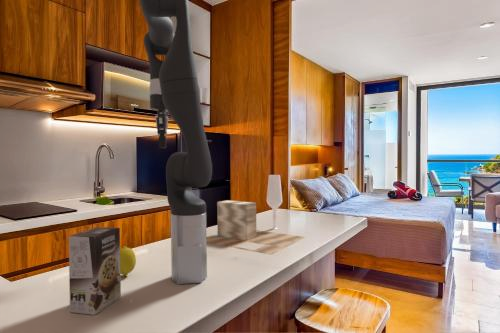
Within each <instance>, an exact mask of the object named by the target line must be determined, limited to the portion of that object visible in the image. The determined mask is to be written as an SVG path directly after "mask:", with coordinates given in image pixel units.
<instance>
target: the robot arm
mask: <svg viewBox="0 0 500 333" xmlns="http://www.w3.org/2000/svg"><path fill="white" fill-rule="evenodd" d="M139 5H140V8H141V11H142V14H143V17H144V19H145V21H146V23H147V28H148V29H147V30H148V31H147V32H146V33H145V35H144V36H143V45H144V49H145V52H146V55H147V59H148V63H149V79H150V80H149V109H151V110H153V111H157V114H154V115H155V116H154V117H155V118H154V120H155V121H156V122H155V123H156V124H155V125H156V130H157V131H156V133H157V136H158V148H159V149H166V148H167V134H168V132H167V131H168V129H169V127H168V126H169V124H168V123H169V115H170V117H171V118H172V120H173V121H174V122H175V123H176V125H177V126H178V128H179V129H180V132H181V134H182V136H183V140H184V144H185V149H186V151H177V152H173V153H171V155H170V156H169V158H168V160H167V162H166V166H165V181H166V193H167V194H166V196H167V203H168V205H169V208H170V247H171V249H170V256H171V257H170V258H171V259H170V260H171V262H170V263H171V264H170V265H171V280H172V282H175V283H176V285H185V284H196V283H203V281H204V280H205V279H206V278H207V277H208V261H207V260H208V258H207V256H208V254H207V246H208V245H207V244H208V243H207V241H206V237H207V203H206V202H205V200H203V199H202V198H200V197H198V196H197V195H196V194H195V193H194V191H193V188H204V187H207V186H208V185H209V184H210V182H211V180H212V176H213V163H212V162H213V161H212V158H211V157H212V156H211V152H210V149H209V145H208V144H209V143H208V139H207V135H206V132H205V127H204V126H205V125H204V118H203V113H202V107H201V105H202V104H201V99H200V98H201V97H200V89H199V88H200V87H199V81H198V79H199V78H198V73H197V69H196V68H197V67H196V63H195V56H194V55H195V54H194V49H193V42H192V32H191V19H190V18H191V16H190V6H189V0H139ZM172 17H173V18H174V17H175V18H176V27H175V31H174V24H173V21H172V19H171V18H172ZM157 56H165V57H164V59H163V60H161V59H159V58H158V57H157ZM167 112H168V113H169V114H167Z"/></svg>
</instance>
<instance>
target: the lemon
mask: <svg viewBox="0 0 500 333" xmlns="http://www.w3.org/2000/svg"><path fill="white" fill-rule="evenodd" d="M136 258H137V257H136V254H135V251H134V250H133V249H131V247H127V246H125V245H124V246H122V248H121V247H120V275H123V276H124V277H126V276H128V275H129V273H131V272H132V271H133V270H134V269H135V267H136V264H137V259H136Z"/></svg>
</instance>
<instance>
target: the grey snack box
mask: <svg viewBox="0 0 500 333" xmlns="http://www.w3.org/2000/svg"><path fill="white" fill-rule="evenodd" d="M120 229H121V228H120V227H109V226H108V227H106V226H105V227H104V226H103V227H93V228H90V229H87V230H84V231H80V232H78V233H73V234H70V235H68V257H69V258H68V263H69V264H68V265H69V266H68V267H69V269H68V270H69V271H68V272H69V273H68V274H69V275H68V276H69V278H68V279H69V284H68V285H69V312H70V313H76V314H85V315H91V316H94V315H97V314H99V313H100V312H101V311H103V310H104V309H106V308H107V307H108V306H110V305H112V304H113V303H115V301H118V300H119V299H120V298H121V297H122V291H121V289H122V288H121V284H122V283H121V279H122V278H121V274H120V249H121V238H120V235H121V234H120V233H121V232H120V231H121V230H120Z"/></svg>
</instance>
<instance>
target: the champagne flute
mask: <svg viewBox="0 0 500 333" xmlns="http://www.w3.org/2000/svg"><path fill="white" fill-rule="evenodd" d="M267 182H268V183H267V190H266V203H267V205H268V206H269V207H270V208H271V209H272V219H273V220H272V221H273V222H272V226H273V227H271V229H272V230H277V229H279V228H278V227H277V209H278V208H280V206H281V205H282V204H283V193H282V191H283V190H282V184H281V183H282V182H281V175H280V174H270V175H269V174H268V181H267Z"/></svg>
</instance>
